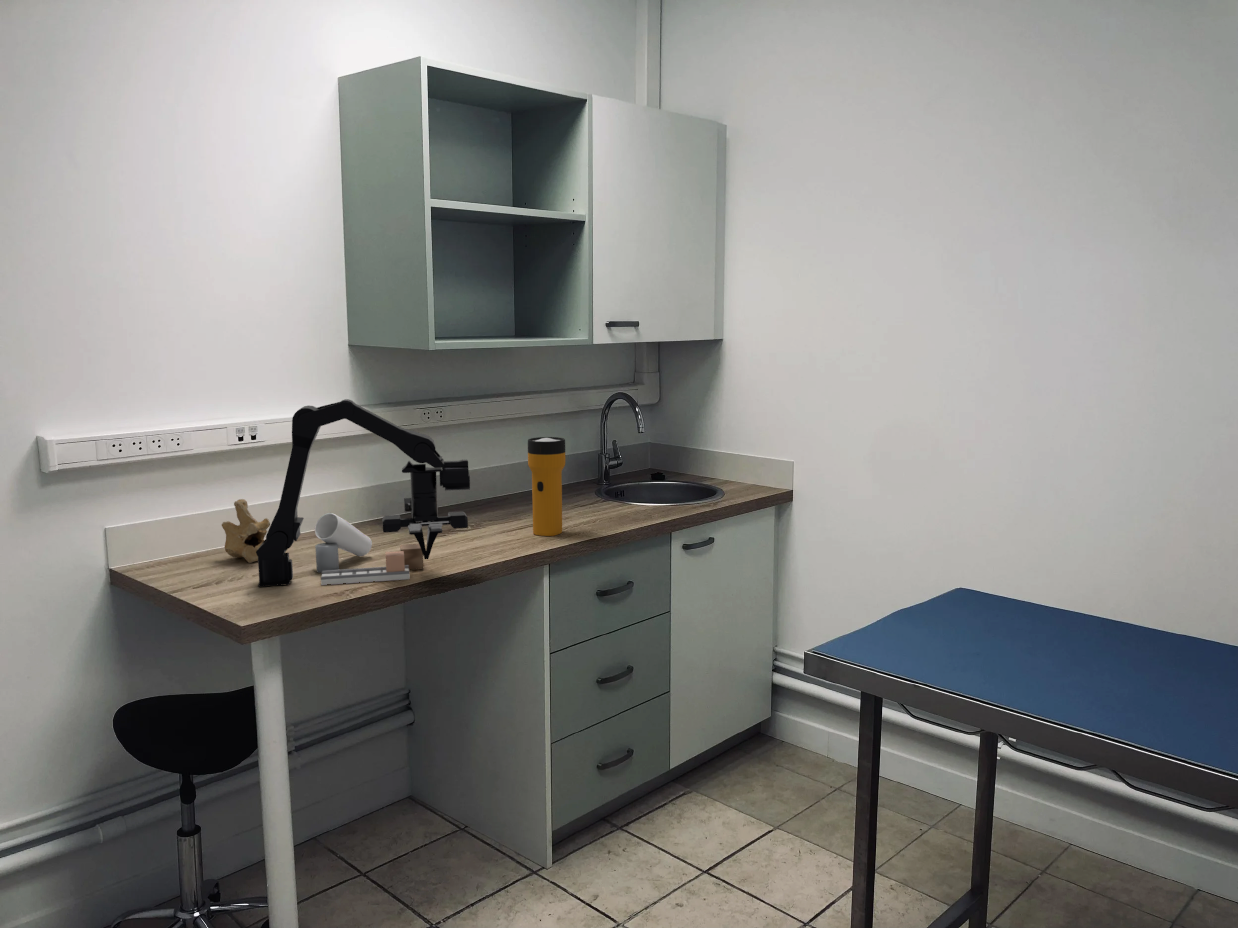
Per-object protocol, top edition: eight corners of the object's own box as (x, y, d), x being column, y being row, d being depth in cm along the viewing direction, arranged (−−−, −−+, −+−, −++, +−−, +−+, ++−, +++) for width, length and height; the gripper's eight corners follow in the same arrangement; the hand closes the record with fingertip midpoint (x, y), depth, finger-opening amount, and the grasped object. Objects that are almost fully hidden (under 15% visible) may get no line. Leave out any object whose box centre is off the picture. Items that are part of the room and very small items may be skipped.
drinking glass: (376, 554, 236) (339, 534, 223) (352, 563, 238) (314, 543, 225) (374, 530, 239) (337, 508, 226) (351, 538, 241) (313, 517, 228)
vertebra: (252, 551, 243) (248, 492, 241) (280, 561, 234) (276, 500, 232) (218, 558, 237) (213, 497, 235) (245, 568, 228) (241, 505, 225)
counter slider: (386, 573, 217) (385, 556, 217) (386, 569, 221) (385, 552, 220) (404, 572, 218) (404, 555, 218) (404, 568, 222) (403, 551, 221)
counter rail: (321, 585, 213) (320, 577, 213) (322, 578, 219) (322, 570, 218) (409, 578, 218) (409, 571, 218) (408, 572, 223) (408, 564, 223)
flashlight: (571, 436, 261) (553, 441, 252) (573, 531, 265) (555, 538, 256) (539, 434, 265) (520, 439, 256) (541, 527, 269) (522, 535, 260)
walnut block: (401, 570, 225) (400, 549, 225) (400, 565, 230) (400, 544, 229) (423, 569, 227) (422, 548, 226) (422, 563, 231) (421, 543, 231)
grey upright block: (316, 573, 223) (314, 548, 222) (317, 568, 227) (316, 543, 227) (338, 572, 224) (337, 546, 223) (339, 566, 229) (338, 541, 228)
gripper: (462, 483, 229) (464, 548, 231) (380, 487, 224) (383, 553, 226) (467, 491, 218) (469, 559, 220) (381, 495, 213) (384, 564, 216)
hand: (426, 558), depth 221 cm, fingers closed
